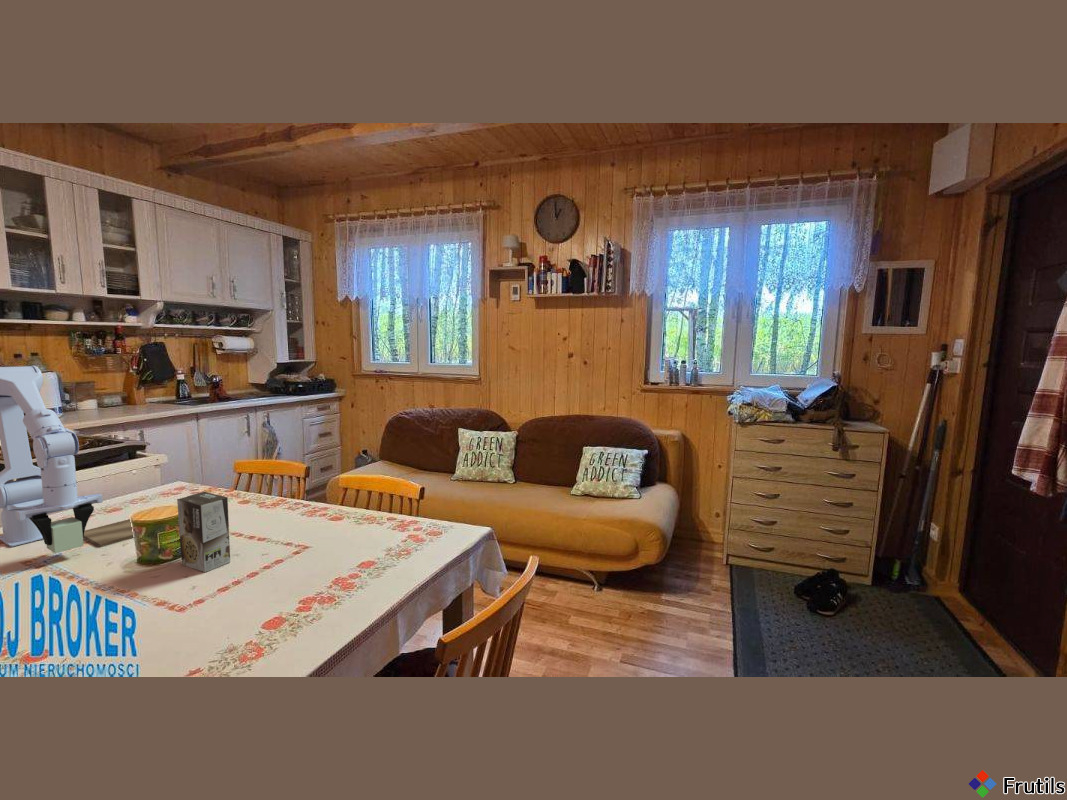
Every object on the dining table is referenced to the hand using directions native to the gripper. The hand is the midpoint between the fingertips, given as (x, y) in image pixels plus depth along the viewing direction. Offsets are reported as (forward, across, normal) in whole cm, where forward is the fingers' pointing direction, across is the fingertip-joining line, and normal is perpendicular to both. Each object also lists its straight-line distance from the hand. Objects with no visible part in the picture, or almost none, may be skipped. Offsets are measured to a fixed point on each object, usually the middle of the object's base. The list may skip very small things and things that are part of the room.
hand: (64, 539), depth 113 cm
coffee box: (+5, +16, -29) cm, 34 cm away
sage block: (+2, 0, 0) cm, 2 cm away
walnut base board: (+4, +13, +7) cm, 15 cm away
